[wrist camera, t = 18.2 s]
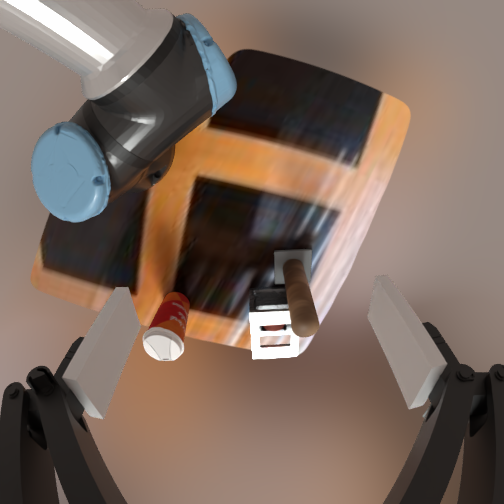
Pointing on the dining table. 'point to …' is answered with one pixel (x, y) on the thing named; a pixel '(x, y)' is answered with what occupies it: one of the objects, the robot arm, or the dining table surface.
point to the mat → (285, 255)
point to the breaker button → (274, 327)
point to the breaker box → (271, 322)
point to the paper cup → (168, 328)
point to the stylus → (299, 299)
